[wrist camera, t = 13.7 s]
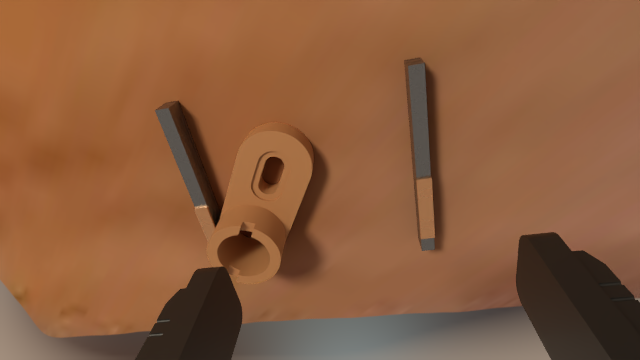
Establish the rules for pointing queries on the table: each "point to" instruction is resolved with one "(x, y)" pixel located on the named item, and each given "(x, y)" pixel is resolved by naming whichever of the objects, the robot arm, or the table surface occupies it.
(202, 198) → the guide rails
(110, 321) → the table surface
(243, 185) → the bracket
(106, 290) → the table surface
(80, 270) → the table surface
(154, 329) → the robot arm
